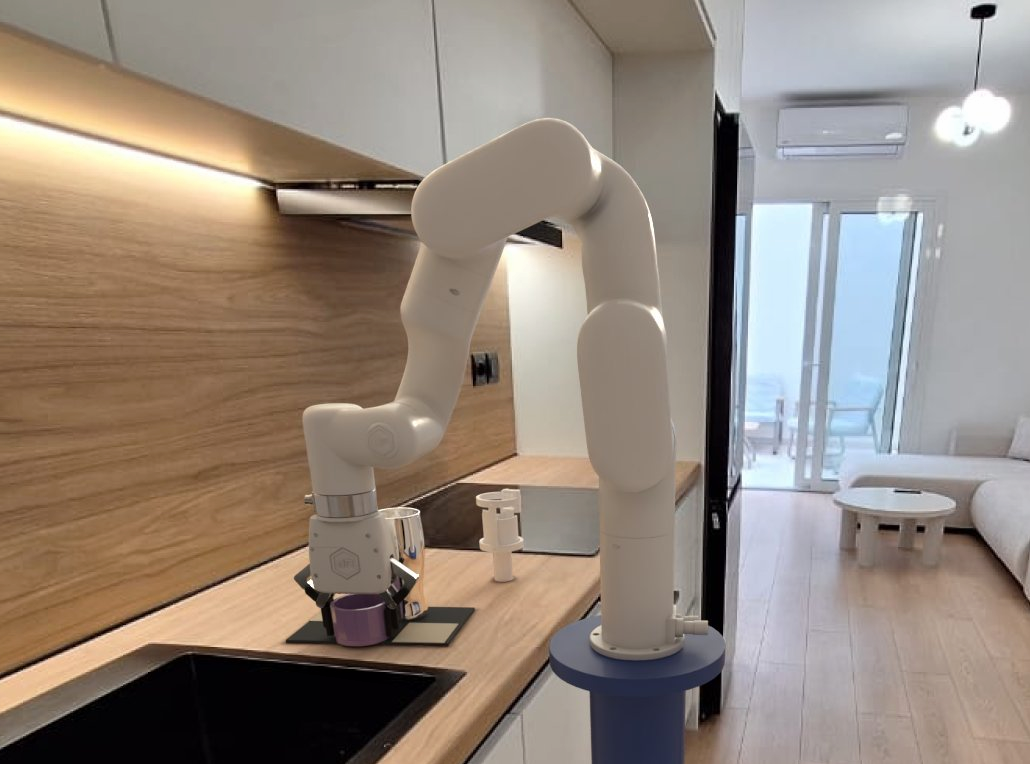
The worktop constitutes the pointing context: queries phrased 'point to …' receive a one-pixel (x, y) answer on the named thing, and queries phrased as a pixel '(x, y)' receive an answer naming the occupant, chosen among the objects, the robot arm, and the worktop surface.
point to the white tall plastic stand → (501, 529)
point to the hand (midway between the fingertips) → (364, 632)
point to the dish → (359, 619)
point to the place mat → (423, 631)
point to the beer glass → (409, 556)
